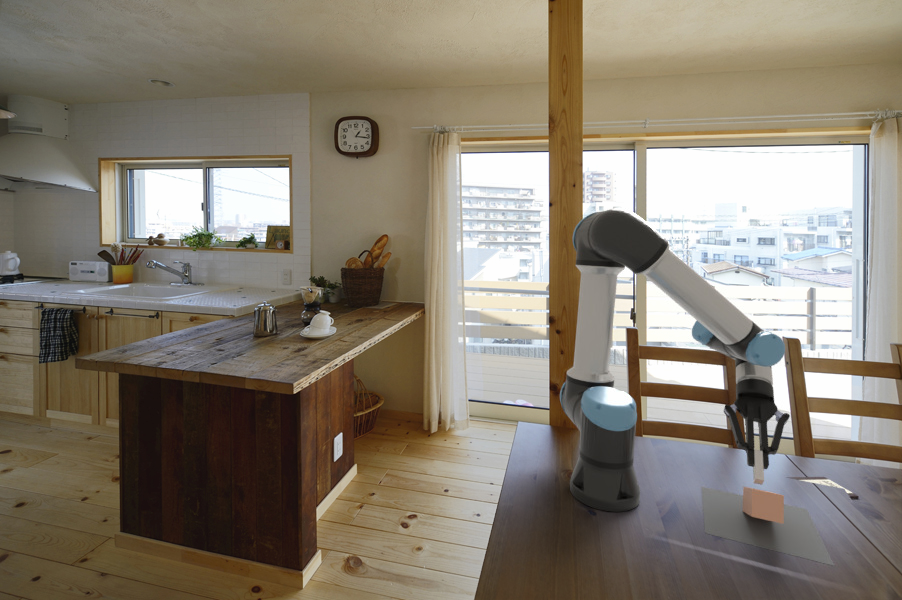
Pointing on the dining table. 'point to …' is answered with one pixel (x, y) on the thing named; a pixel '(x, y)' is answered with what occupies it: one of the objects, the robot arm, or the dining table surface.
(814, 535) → the mat
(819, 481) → the chocolate bar
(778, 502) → the block
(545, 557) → the dining table surface
